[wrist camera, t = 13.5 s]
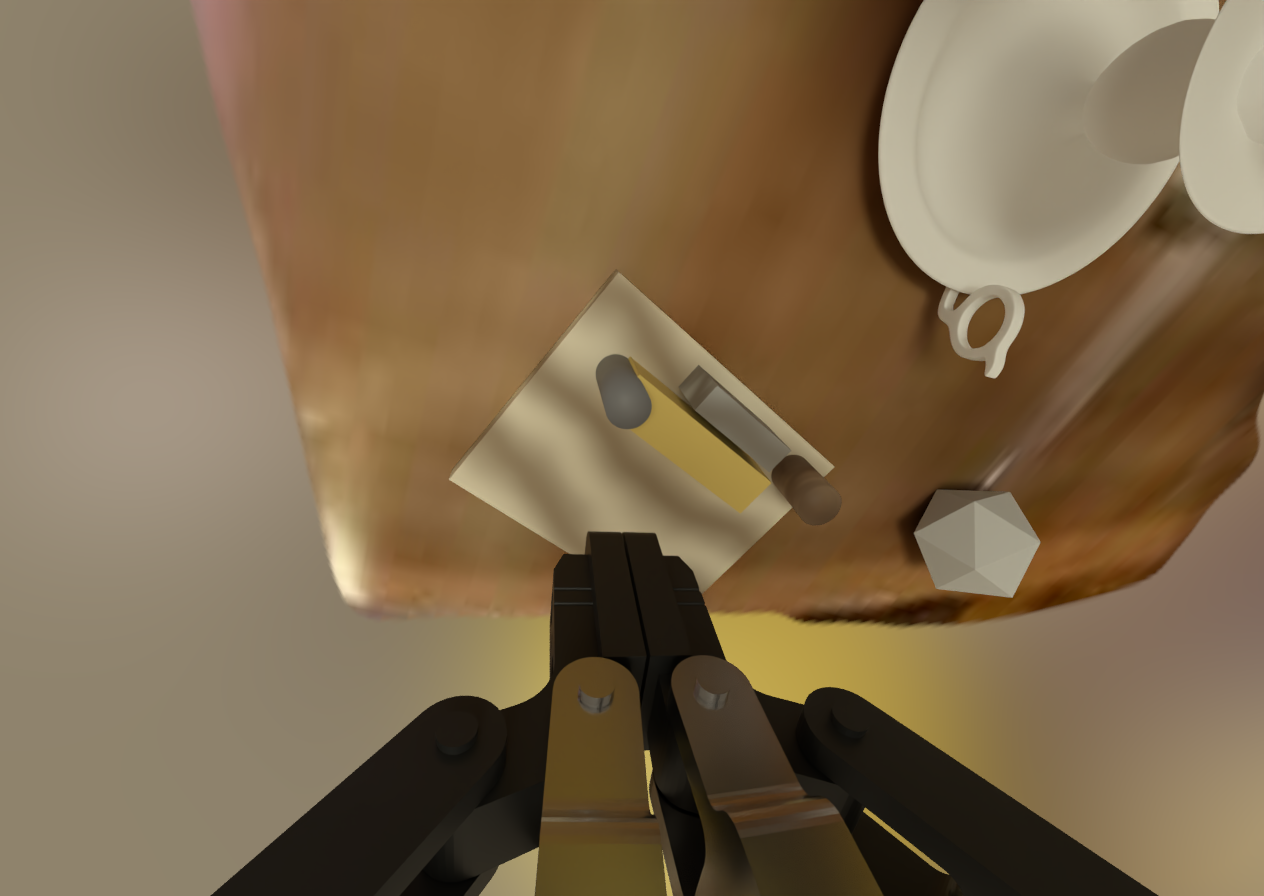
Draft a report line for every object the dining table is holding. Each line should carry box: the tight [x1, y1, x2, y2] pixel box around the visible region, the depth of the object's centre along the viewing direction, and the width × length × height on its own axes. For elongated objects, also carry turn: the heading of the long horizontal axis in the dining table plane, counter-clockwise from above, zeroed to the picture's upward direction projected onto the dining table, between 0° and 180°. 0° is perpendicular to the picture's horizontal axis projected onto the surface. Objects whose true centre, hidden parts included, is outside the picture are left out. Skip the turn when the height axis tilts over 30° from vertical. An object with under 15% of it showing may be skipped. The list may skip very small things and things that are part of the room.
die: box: [914, 489, 1040, 597], centre depth 43 cm, size 8×9×10 cm
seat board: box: [449, 270, 842, 594], centre depth 38 cm, size 18×22×6 cm
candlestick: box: [878, 0, 1264, 378], centre depth 22 cm, size 21×25×28 cm
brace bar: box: [596, 354, 771, 514], centre depth 35 cm, size 13×3×6 cm, turn 49°
